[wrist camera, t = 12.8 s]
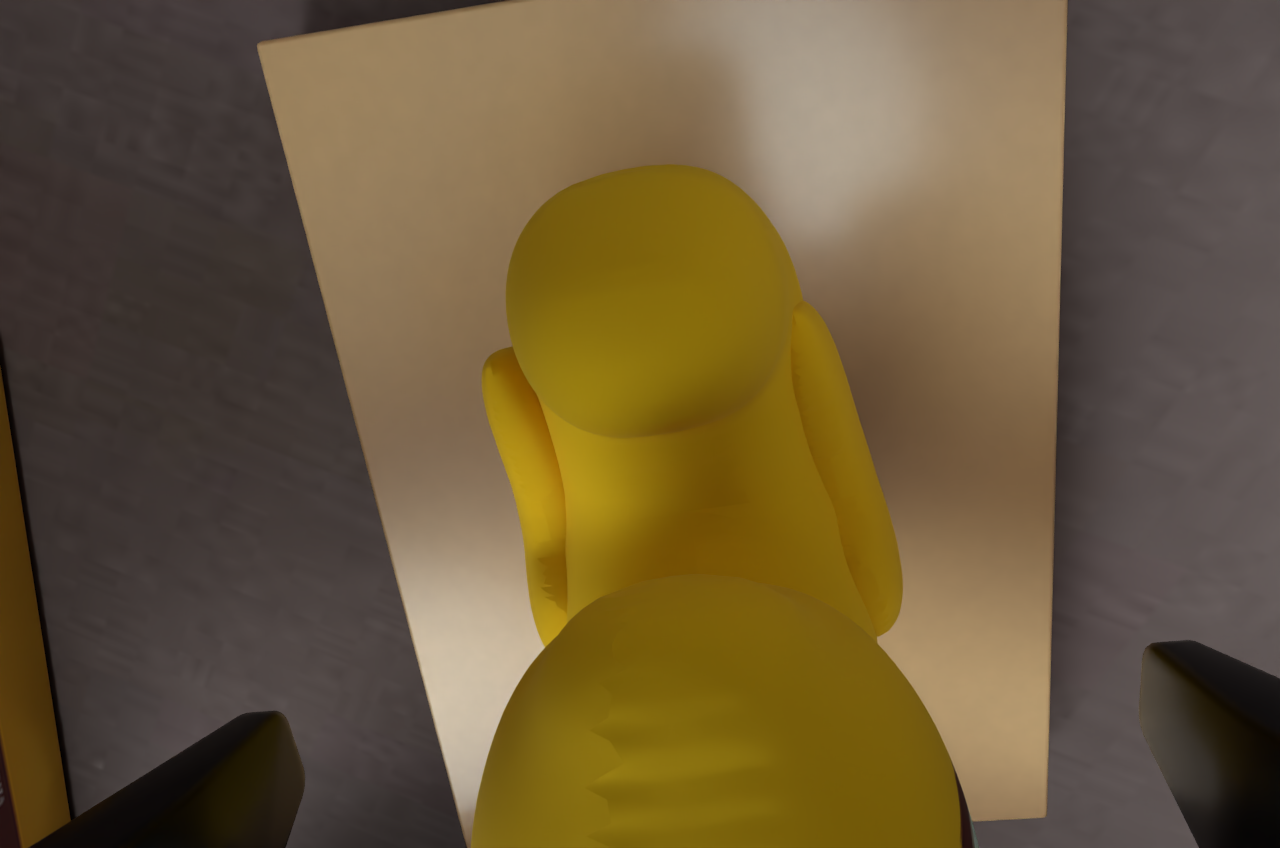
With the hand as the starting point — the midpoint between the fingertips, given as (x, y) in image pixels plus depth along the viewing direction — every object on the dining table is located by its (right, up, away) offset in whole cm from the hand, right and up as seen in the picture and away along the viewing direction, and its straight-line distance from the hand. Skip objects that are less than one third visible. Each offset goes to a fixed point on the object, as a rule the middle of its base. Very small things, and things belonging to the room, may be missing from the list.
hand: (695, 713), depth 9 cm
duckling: (+1, +2, +6) cm, 7 cm away
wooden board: (+1, +3, +7) cm, 8 cm away
